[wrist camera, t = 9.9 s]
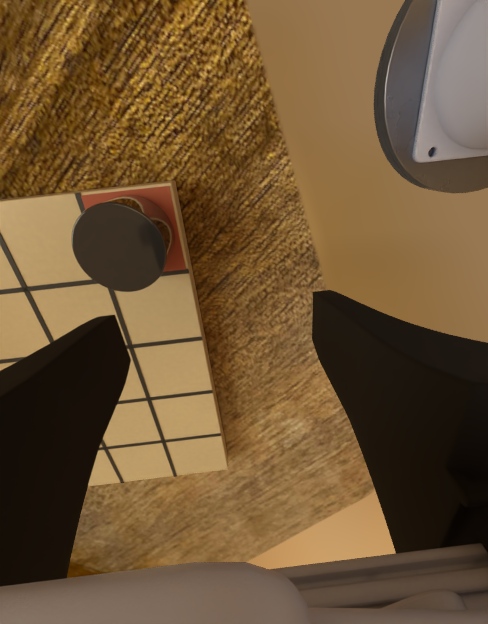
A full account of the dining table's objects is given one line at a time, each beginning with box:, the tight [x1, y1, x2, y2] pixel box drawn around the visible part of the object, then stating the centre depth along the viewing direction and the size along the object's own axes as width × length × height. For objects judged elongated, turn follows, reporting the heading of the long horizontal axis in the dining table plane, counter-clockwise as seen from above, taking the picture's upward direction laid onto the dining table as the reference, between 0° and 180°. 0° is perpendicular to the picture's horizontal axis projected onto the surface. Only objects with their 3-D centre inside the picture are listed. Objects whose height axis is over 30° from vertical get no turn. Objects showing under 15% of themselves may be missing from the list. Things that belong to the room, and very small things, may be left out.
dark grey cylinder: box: [71, 194, 175, 292], centre depth 15 cm, size 4×4×3 cm
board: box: [0, 180, 228, 486], centre depth 22 cm, size 20×25×2 cm
